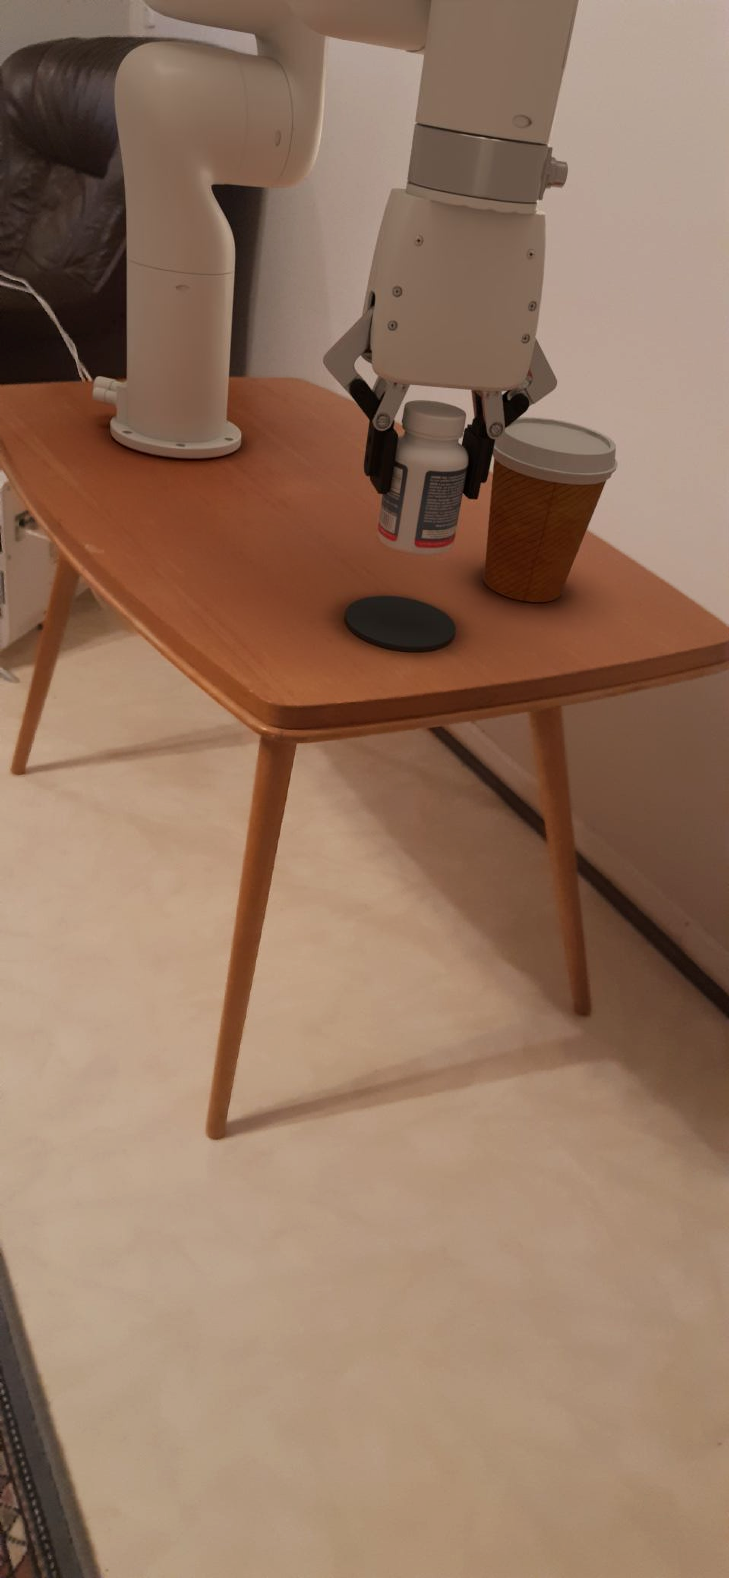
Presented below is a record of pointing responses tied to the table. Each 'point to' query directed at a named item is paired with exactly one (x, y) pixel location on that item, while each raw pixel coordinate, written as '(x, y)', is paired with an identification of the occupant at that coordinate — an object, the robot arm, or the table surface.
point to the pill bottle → (425, 480)
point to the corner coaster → (400, 623)
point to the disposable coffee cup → (542, 504)
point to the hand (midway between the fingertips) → (423, 487)
